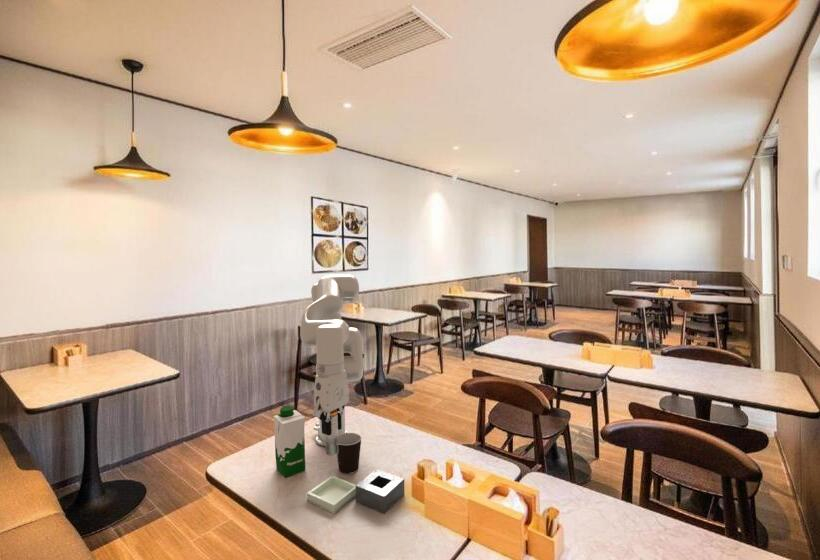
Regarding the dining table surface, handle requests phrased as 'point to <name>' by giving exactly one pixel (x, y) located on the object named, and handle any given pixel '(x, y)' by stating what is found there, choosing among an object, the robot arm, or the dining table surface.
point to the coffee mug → (348, 452)
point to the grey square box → (380, 491)
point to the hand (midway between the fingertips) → (331, 430)
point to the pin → (333, 435)
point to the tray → (332, 494)
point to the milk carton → (289, 441)
